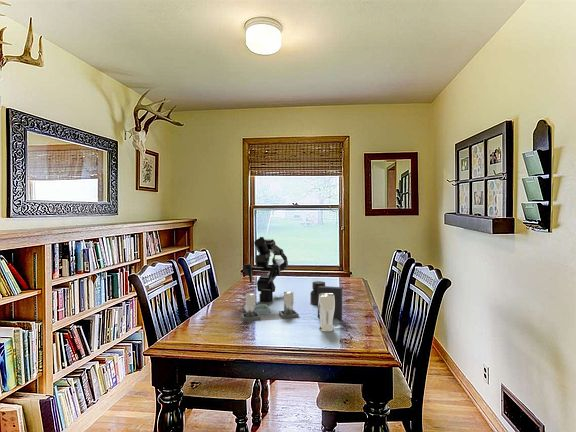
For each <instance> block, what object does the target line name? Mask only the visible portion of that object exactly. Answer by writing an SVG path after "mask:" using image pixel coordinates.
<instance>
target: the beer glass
mask: <svg viewBox="0 0 576 432" xmlns="http://www.w3.org/2000/svg"><path fill="white" fill-rule="evenodd" d="M318 307H319V314H320V317H319V319H320V322H319V331H321V332H323V333H325V332H326V333H331V332H333V331H334V330H335V329H334V318H333V316H334V310H335V297H334V294H332V293H321V294H319V302H318V305H317V308H318Z"/></svg>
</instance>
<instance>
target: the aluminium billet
mask: <svg viewBox="0 0 576 432" xmlns="http://www.w3.org/2000/svg"><path fill="white" fill-rule="evenodd" d="M245 305H246V312H245V313H246V317H256V310H257V309H256V305H257V304H256V293H254V292H253V293H251V292H250V293H249V292H248V293H245Z"/></svg>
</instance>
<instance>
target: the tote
mask: <svg viewBox="0 0 576 432" xmlns="http://www.w3.org/2000/svg"><path fill="white" fill-rule="evenodd" d="M243 310H244V311H245V312H244V313H246V304H245V305H243ZM271 311H272V309H271V308H270V307H269V305H268V304H266V303H264V304H263V303H262V304H256V312H258V314H259V315H264V314H272V313H271Z"/></svg>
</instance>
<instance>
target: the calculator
mask: <svg viewBox="0 0 576 432" xmlns="http://www.w3.org/2000/svg"><path fill="white" fill-rule="evenodd" d="M321 293H332V294H334V297H335V310H334V316H333V319H334V320H338V321H339V322H341V321H342V319H343V287H341V286H327V285H325V286H319V287H318V288H317V296H318V302H319V294H321ZM317 317H318V318H320V314H319V307H318V306H317Z"/></svg>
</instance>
